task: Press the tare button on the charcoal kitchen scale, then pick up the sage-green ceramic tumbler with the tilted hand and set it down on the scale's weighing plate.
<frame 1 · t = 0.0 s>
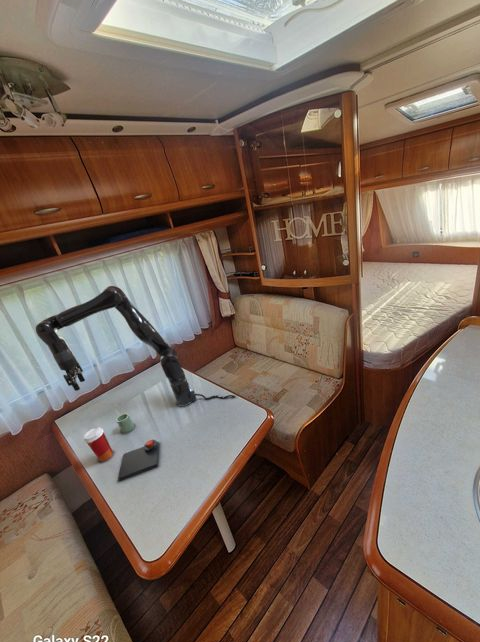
hand: (80, 385, 137), 29 cm above the table, tool pointing down, fingers open, 8 cm apart
tare button: (149, 443, 126), point 4 cm above the table, slide at 0.1 cm
coffee cup: (106, 456, 130), on the table
scale: (140, 461, 123), on the table
tumbler: (128, 428, 145), on the table
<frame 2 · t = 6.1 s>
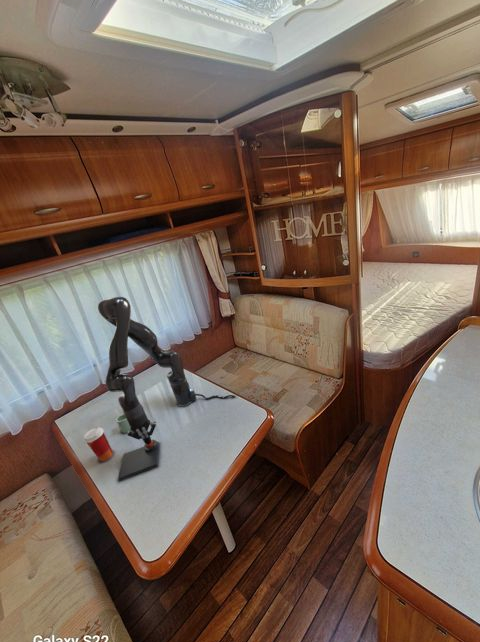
hand: (148, 442, 126), 5 cm above the table, tool pointing down, fingers closed
tare button: (149, 443, 126), point 4 cm above the table, slide at 0.0 cm, touching gripper
everything else where it was.
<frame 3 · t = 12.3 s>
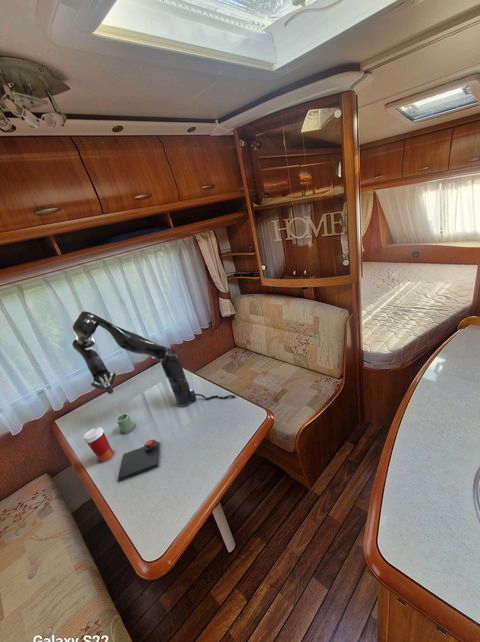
hand: (111, 393, 144), 20 cm above the table, tool tilted 45°, fingers closed
tare button: (149, 443, 126), point 4 cm above the table, slide at 0.1 cm
everything else where it was.
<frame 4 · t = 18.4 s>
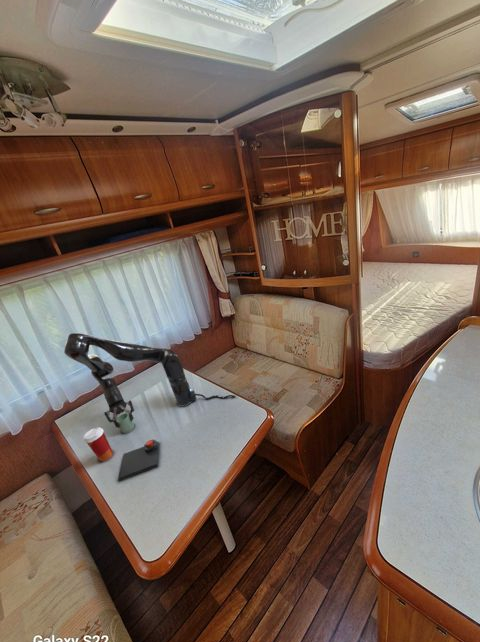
hand: (125, 423, 142), 5 cm above the table, tool tilted 45°, fingers closed on tumbler, 6 cm apart
tumbler: (128, 428, 145), on the table, touching gripper
everything else where it was.
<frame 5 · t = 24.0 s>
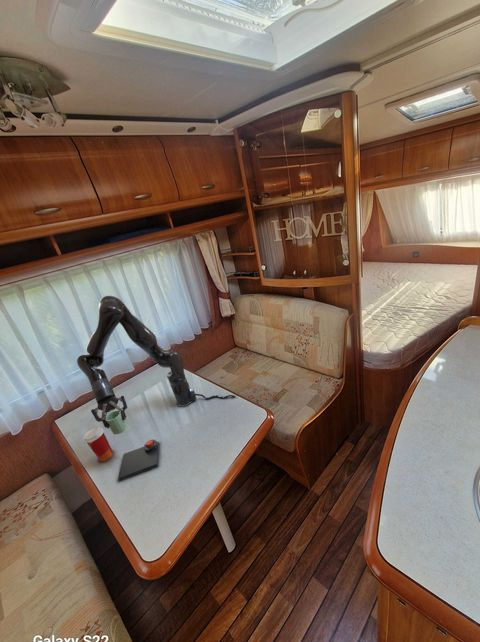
hand: (116, 423, 119), 20 cm above the table, tool tilted 45°, fingers closed on tumbler, 6 cm apart
tumbler: (120, 429, 122), point 15 cm above the table, touching gripper
everything else where it was.
when the fingers open (6 cm above the table, at t = 29.6 s): tumbler stays where it is, resting on scale.
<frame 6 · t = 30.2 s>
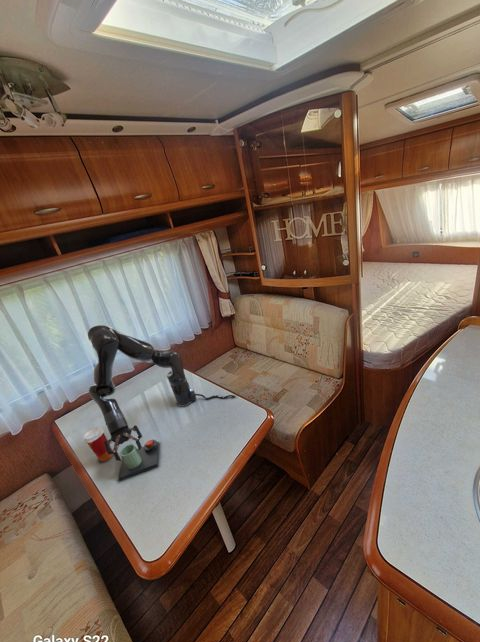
hand: (130, 454, 117), 8 cm above the table, tool tilted 45°, fingers open, 8 cm apart
tumbler: (134, 462, 120), point 2 cm above the table, touching scale
everything else where it was.
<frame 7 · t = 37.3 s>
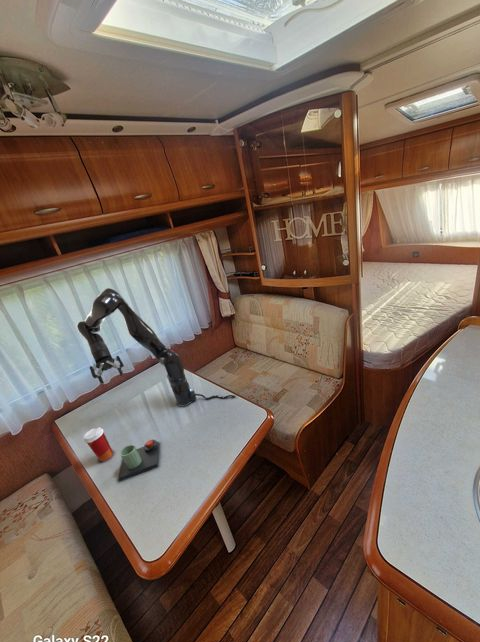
hand: (112, 379, 134), 31 cm above the table, tool tilted 45°, fingers open, 8 cm apart
nothing on the table moved.
at the end: tare button pushed in 1.1 cm at the most during the clip, back to where it started at the end; tumbler inside the target area on the scale (0.5 cm from its centre), point 1.7 cm above the scale's base; tumbler tilted 0° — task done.
